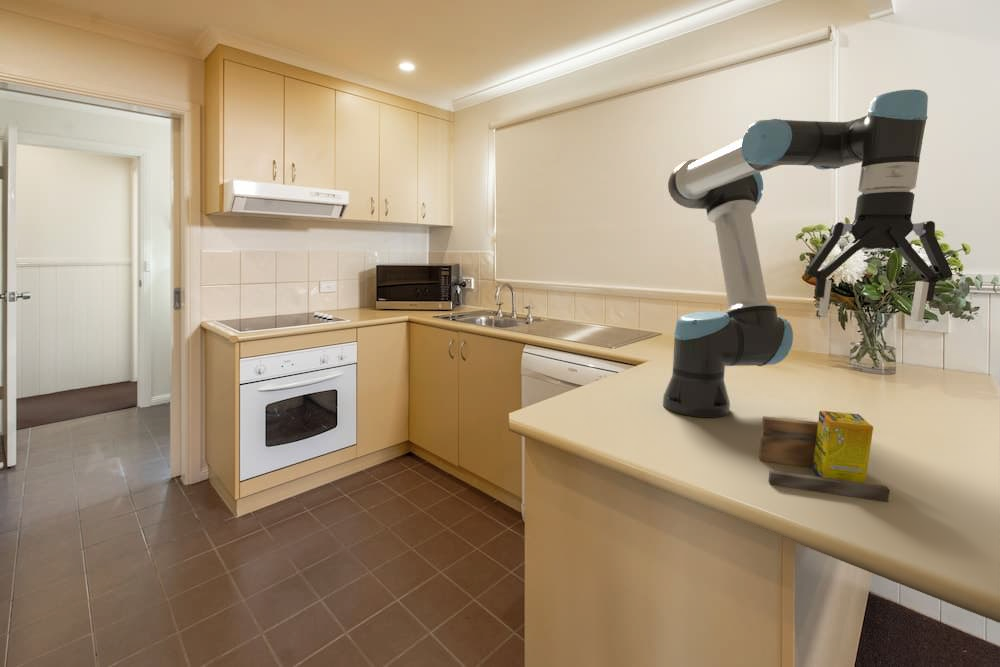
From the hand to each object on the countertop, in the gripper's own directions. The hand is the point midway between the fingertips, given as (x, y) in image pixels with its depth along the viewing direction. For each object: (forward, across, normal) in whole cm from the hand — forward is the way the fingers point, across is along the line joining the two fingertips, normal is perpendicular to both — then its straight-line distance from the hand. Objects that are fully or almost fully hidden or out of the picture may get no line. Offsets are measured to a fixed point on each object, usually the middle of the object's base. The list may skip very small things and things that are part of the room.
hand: (868, 318), depth 83 cm
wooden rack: (+26, -7, -11) cm, 29 cm away
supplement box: (+26, -4, -10) cm, 29 cm away
